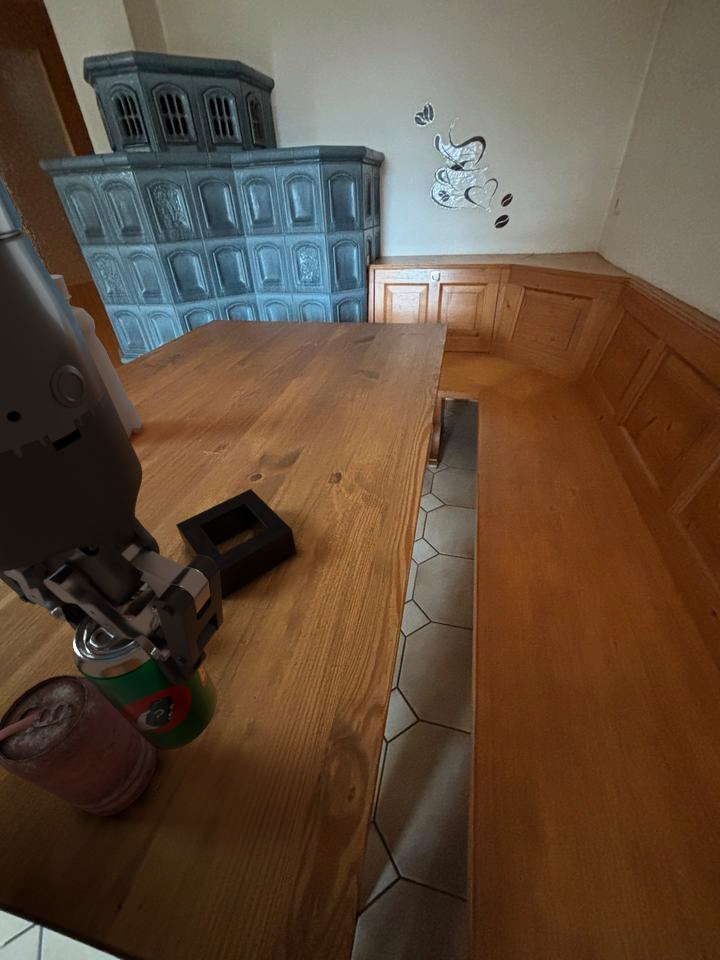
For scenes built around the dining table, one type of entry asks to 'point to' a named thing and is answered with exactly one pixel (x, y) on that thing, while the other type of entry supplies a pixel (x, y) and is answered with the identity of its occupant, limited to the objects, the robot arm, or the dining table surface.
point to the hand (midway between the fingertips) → (150, 653)
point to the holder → (248, 556)
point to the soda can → (143, 685)
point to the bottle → (103, 363)
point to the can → (75, 746)
